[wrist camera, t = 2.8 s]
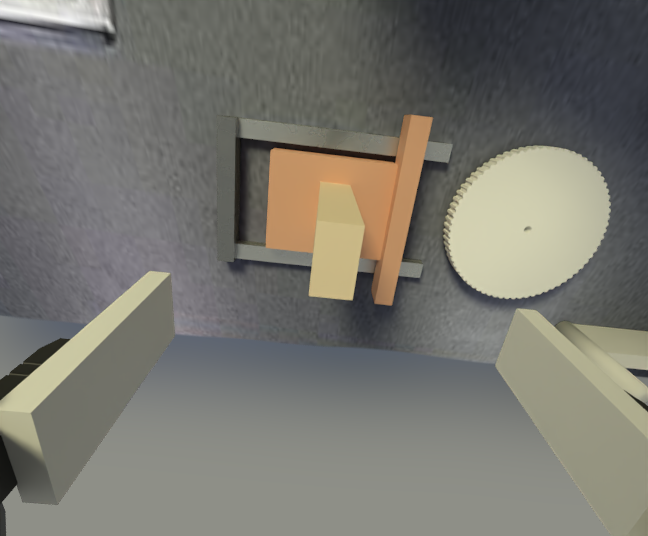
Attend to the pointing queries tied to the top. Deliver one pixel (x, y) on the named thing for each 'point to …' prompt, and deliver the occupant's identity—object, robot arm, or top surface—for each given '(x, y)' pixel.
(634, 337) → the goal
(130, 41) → the top surface
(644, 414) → the robot arm
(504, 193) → the plastic lid
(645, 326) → the top surface
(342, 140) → the rail track
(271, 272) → the top surface
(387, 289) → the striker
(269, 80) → the top surface
